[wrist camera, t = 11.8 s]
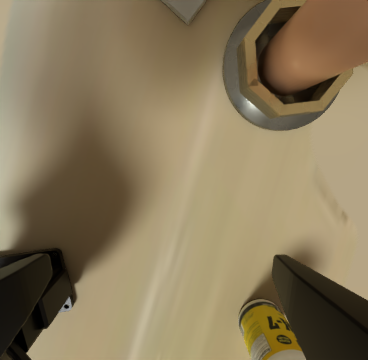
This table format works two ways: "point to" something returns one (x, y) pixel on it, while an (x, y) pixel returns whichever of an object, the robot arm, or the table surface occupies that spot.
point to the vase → (315, 45)
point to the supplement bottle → (268, 332)
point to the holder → (250, 82)
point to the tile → (185, 8)
